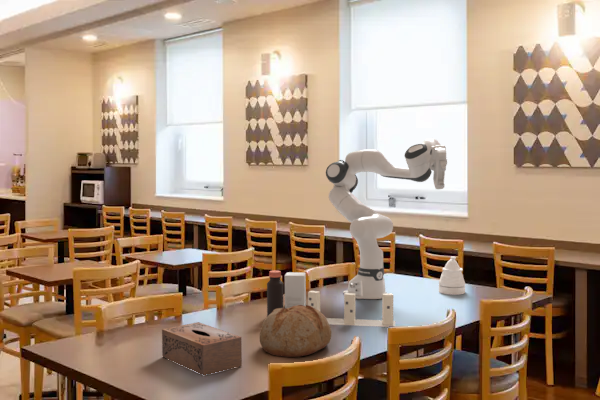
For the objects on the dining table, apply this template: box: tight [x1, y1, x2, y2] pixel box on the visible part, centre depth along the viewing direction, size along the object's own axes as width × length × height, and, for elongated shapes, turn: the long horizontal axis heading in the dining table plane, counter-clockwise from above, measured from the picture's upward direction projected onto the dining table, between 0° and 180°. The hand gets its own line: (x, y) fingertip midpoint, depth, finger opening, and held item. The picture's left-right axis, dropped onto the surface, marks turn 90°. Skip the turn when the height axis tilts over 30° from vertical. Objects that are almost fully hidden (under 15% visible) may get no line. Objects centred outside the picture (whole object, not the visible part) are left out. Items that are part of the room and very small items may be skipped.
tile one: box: [381, 292, 394, 325], centre depth 269 cm, size 3×4×12 cm
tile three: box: [307, 290, 321, 312], centre depth 274 cm, size 3×4×12 cm
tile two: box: [343, 293, 356, 324], centre depth 270 cm, size 3×4×12 cm
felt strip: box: [326, 317, 396, 328], centre depth 272 cm, size 36×10×1 cm, turn 80°
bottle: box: [266, 269, 284, 317], centre depth 279 cm, size 7×7×20 cm
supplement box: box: [284, 271, 307, 309], centre depth 302 cm, size 9×9×15 cm
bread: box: [259, 304, 332, 358], centre depth 237 cm, size 26×23×15 cm
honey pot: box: [438, 256, 466, 296], centre depth 334 cm, size 13×13×18 cm
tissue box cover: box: [161, 321, 243, 375], centre depth 221 cm, size 26×14×10 cm, turn 41°
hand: (443, 178), depth 302 cm, fingers open, 8 cm apart
